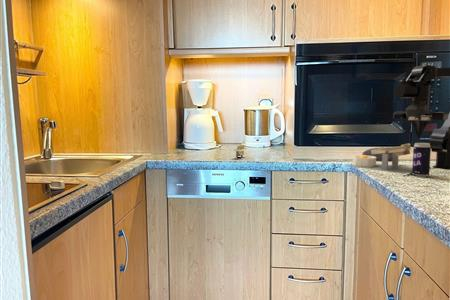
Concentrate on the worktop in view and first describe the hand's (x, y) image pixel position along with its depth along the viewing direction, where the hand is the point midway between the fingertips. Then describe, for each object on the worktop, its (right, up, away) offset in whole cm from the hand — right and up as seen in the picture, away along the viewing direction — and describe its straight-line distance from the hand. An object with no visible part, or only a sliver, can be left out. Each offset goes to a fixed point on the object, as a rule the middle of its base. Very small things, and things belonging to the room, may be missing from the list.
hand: (418, 137), depth 147 cm
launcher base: (-14, -13, +1) cm, 20 cm away
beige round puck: (-19, -11, +7) cm, 23 cm away
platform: (-70, -10, +36) cm, 79 cm away
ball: (-19, -9, +7) cm, 22 cm away
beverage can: (-5, -15, -11) cm, 19 cm away
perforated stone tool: (-7, -11, +20) cm, 24 cm away
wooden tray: (-9, -7, +1) cm, 11 cm away
